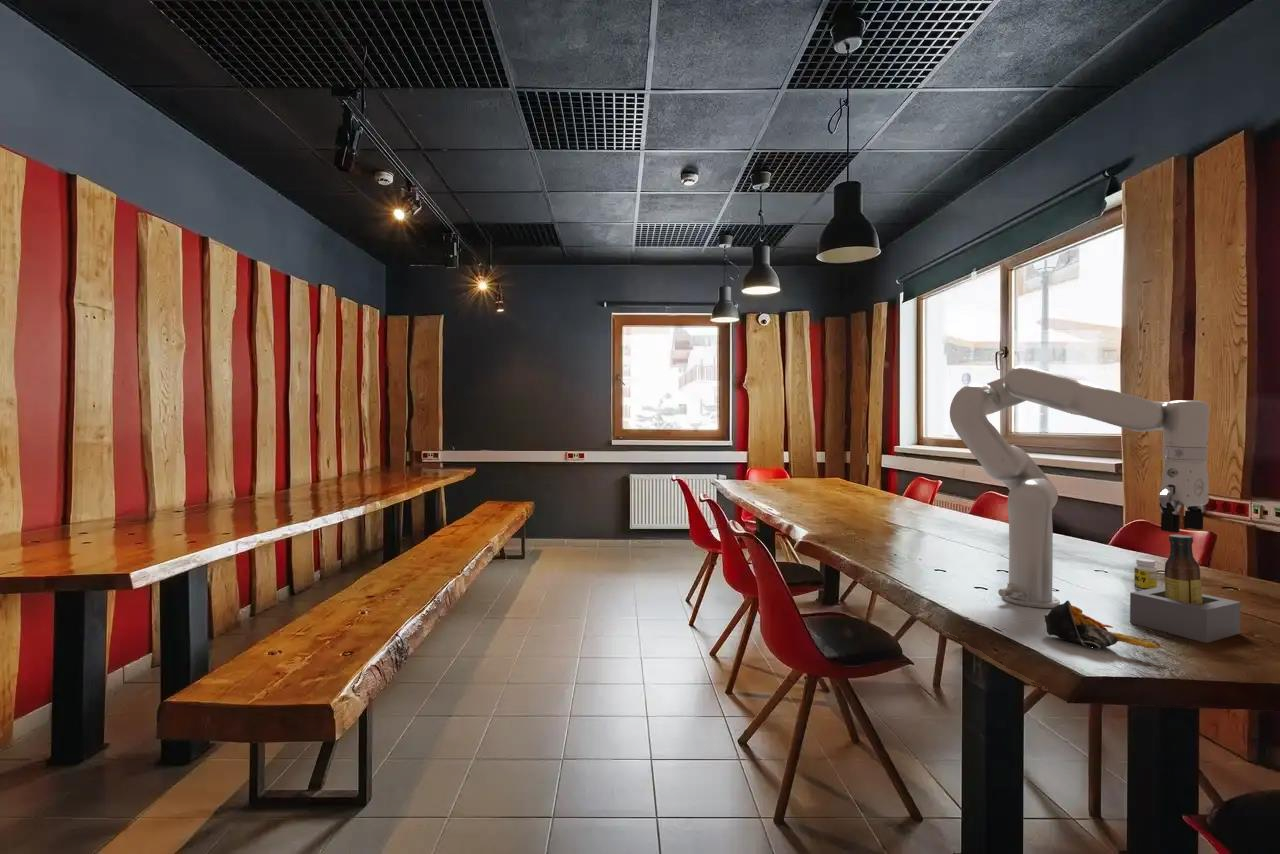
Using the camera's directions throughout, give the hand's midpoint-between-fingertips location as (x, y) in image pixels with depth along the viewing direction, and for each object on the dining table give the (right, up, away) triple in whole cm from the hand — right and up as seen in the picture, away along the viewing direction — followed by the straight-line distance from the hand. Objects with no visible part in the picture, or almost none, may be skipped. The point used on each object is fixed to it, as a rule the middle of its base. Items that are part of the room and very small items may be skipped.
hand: (1181, 530), depth 135 cm
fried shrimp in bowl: (-28, -23, -12) cm, 38 cm away
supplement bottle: (+18, -22, +30) cm, 42 cm away
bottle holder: (0, -22, 0) cm, 22 cm away
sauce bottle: (+1, -21, 0) cm, 21 cm away
